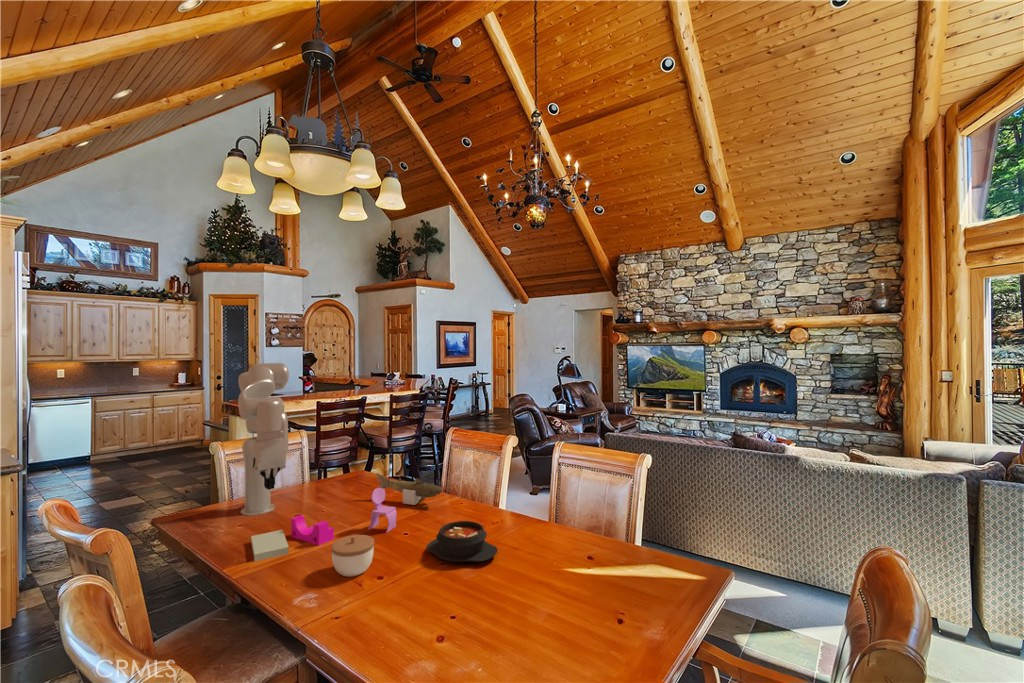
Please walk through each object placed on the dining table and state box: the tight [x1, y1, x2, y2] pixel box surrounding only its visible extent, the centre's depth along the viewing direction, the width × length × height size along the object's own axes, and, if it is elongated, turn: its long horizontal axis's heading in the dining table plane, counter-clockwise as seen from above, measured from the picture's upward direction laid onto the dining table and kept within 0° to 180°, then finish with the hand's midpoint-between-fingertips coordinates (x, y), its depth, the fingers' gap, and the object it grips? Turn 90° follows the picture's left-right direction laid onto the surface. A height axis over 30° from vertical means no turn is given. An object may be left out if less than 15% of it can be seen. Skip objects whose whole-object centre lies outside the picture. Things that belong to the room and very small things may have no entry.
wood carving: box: [375, 472, 444, 506], centre depth 204 cm, size 9×35×11 cm, turn 68°
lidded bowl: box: [330, 534, 375, 578], centre depth 141 cm, size 13×13×11 cm
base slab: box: [250, 529, 290, 562], centre depth 157 cm, size 17×10×4 cm, turn 33°
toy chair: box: [367, 487, 397, 533], centre depth 175 cm, size 8×9×15 cm
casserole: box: [426, 520, 499, 563], centre depth 153 cm, size 25×19×8 cm
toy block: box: [290, 514, 335, 546], centre depth 166 cm, size 15×6×8 cm, turn 62°
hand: (269, 488), depth 157 cm, fingers closed
